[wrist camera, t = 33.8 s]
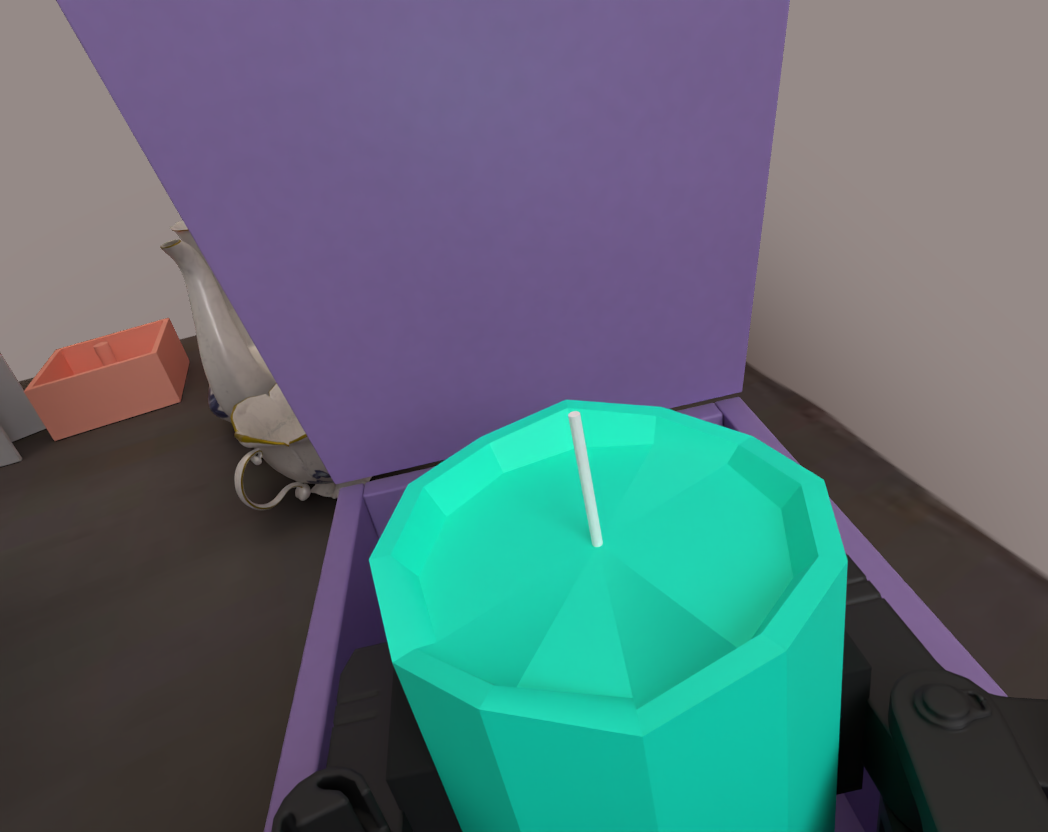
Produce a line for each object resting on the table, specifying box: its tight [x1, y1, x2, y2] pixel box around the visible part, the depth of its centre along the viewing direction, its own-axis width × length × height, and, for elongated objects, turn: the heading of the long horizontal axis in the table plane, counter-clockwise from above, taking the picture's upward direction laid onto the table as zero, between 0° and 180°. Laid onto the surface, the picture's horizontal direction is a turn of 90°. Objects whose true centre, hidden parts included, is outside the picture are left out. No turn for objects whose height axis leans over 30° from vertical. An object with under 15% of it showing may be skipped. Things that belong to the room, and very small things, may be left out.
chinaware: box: [161, 221, 372, 510], centre depth 42 cm, size 28×17×17 cm, turn 176°
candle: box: [369, 400, 848, 832], centre depth 11 cm, size 6×6×12 cm
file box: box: [264, 397, 1008, 832], centre depth 15 cm, size 17×13×8 cm
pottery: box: [24, 318, 190, 441], centre depth 54 cm, size 18×10×10 cm, turn 110°
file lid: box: [56, 0, 790, 484], centre depth 16 cm, size 17×13×5 cm
